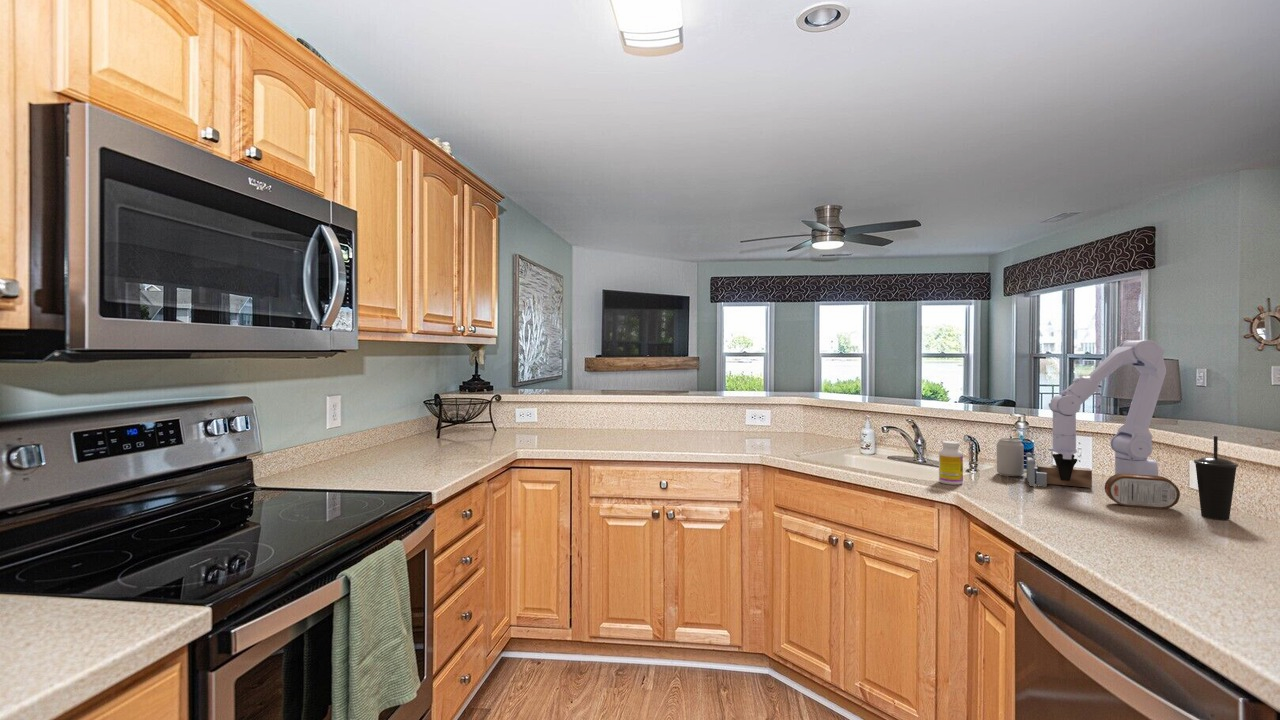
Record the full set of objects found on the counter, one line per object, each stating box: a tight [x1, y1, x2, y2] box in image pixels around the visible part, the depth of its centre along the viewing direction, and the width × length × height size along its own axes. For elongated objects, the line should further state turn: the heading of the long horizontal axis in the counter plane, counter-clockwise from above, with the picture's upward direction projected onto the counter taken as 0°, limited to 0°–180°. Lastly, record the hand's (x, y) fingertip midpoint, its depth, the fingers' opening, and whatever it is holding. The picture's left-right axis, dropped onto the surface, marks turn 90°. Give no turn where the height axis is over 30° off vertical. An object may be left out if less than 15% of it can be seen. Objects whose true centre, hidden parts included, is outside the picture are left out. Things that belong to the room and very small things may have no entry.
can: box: [996, 437, 1025, 477], centre depth 187 cm, size 8×8×12 cm
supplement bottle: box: [938, 440, 964, 486], centre depth 177 cm, size 7×7×13 cm
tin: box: [1104, 473, 1181, 510], centre depth 149 cm, size 15×3×8 cm, turn 65°
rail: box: [1036, 463, 1093, 489], centre depth 173 cm, size 13×4×5 cm, turn 59°
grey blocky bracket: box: [1025, 452, 1048, 488], centre depth 176 cm, size 5×14×8 cm, turn 149°
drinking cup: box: [1193, 435, 1239, 521], centre depth 139 cm, size 8×8×20 cm
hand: (1064, 479), depth 173 cm, fingers closed on rail, 4 cm apart
